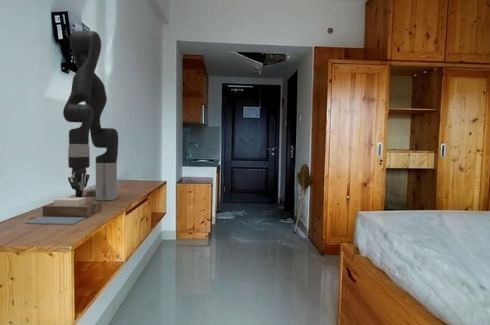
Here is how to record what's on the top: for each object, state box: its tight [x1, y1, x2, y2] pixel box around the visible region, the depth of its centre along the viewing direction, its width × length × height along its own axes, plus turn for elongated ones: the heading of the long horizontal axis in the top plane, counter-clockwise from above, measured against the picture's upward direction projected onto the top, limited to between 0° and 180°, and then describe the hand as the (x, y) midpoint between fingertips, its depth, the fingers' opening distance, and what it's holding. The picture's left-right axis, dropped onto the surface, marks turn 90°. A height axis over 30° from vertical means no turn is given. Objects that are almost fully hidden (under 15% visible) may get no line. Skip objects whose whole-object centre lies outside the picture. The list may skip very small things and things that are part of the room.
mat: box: [24, 216, 87, 226], centre depth 120 cm, size 10×16×1 cm, turn 89°
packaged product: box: [83, 184, 96, 197], centre depth 176 cm, size 18×5×10 cm
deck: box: [42, 200, 102, 219], centre depth 131 cm, size 12×16×4 cm
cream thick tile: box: [53, 196, 87, 207], centre depth 129 cm, size 6×9×2 cm, turn 89°
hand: (79, 199), depth 136 cm, fingers closed
